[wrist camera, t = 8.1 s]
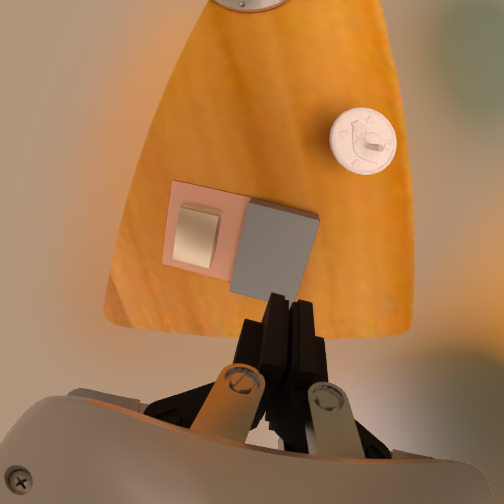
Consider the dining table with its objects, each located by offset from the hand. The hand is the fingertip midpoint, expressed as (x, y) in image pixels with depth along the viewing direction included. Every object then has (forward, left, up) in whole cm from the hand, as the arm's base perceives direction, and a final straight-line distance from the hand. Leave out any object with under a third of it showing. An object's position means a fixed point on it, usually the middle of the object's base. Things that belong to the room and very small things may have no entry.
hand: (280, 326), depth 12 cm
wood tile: (+7, -10, -26) cm, 28 cm away
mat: (+7, -10, -27) cm, 30 cm away
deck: (+7, 0, -27) cm, 28 cm away
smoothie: (-9, +5, -27) cm, 29 cm away
